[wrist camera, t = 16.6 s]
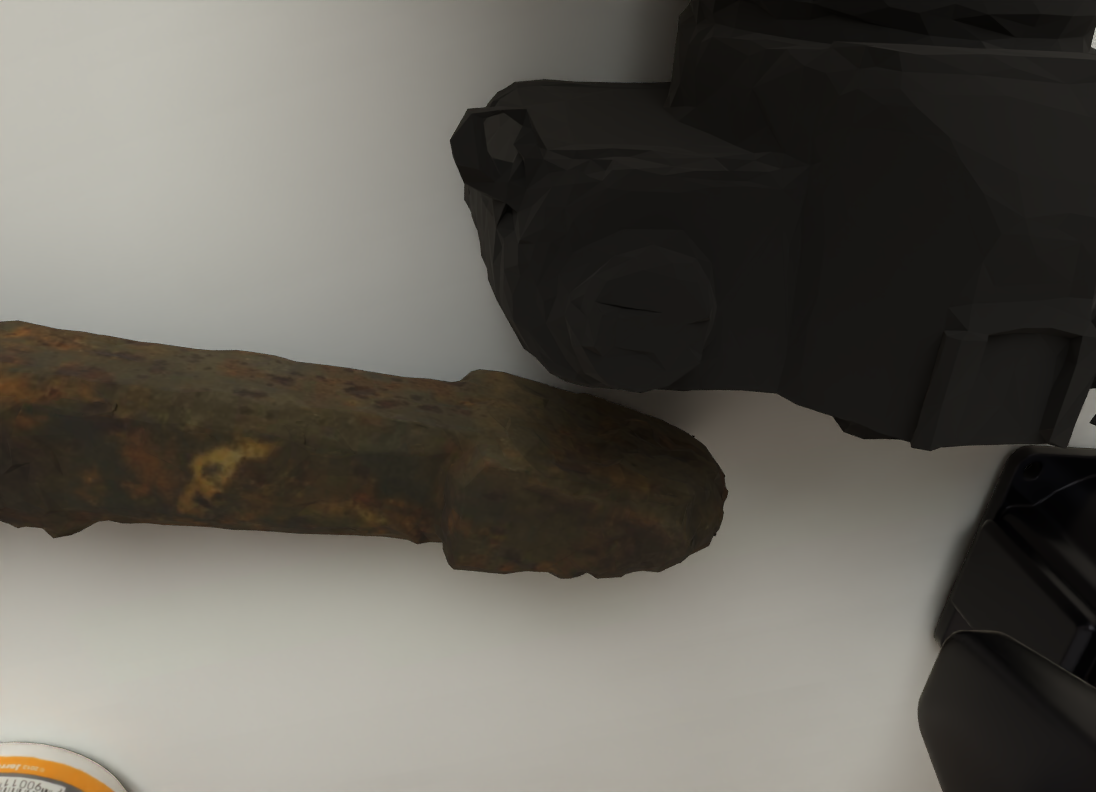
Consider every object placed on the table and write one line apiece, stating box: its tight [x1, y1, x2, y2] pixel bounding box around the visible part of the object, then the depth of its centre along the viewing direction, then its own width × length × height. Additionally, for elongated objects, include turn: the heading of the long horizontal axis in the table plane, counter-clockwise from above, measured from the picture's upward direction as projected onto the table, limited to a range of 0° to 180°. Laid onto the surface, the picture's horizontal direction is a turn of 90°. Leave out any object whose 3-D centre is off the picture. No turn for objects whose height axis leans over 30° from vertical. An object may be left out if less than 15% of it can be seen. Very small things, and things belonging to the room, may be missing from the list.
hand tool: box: [0, 321, 728, 579], centre depth 18 cm, size 19×4×5 cm, turn 76°
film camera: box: [450, 0, 1096, 451], centre depth 15 cm, size 15×10×9 cm, turn 86°
